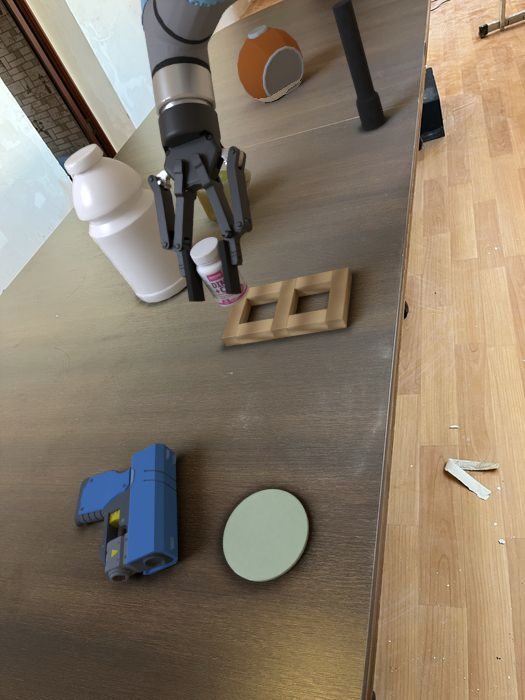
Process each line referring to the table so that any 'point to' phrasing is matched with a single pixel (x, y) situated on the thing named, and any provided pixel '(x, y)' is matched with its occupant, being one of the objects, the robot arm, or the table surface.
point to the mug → (224, 179)
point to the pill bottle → (215, 272)
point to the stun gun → (134, 513)
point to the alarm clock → (269, 62)
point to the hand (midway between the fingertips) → (215, 297)
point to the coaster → (266, 535)
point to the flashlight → (358, 66)
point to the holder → (291, 308)
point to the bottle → (123, 223)
